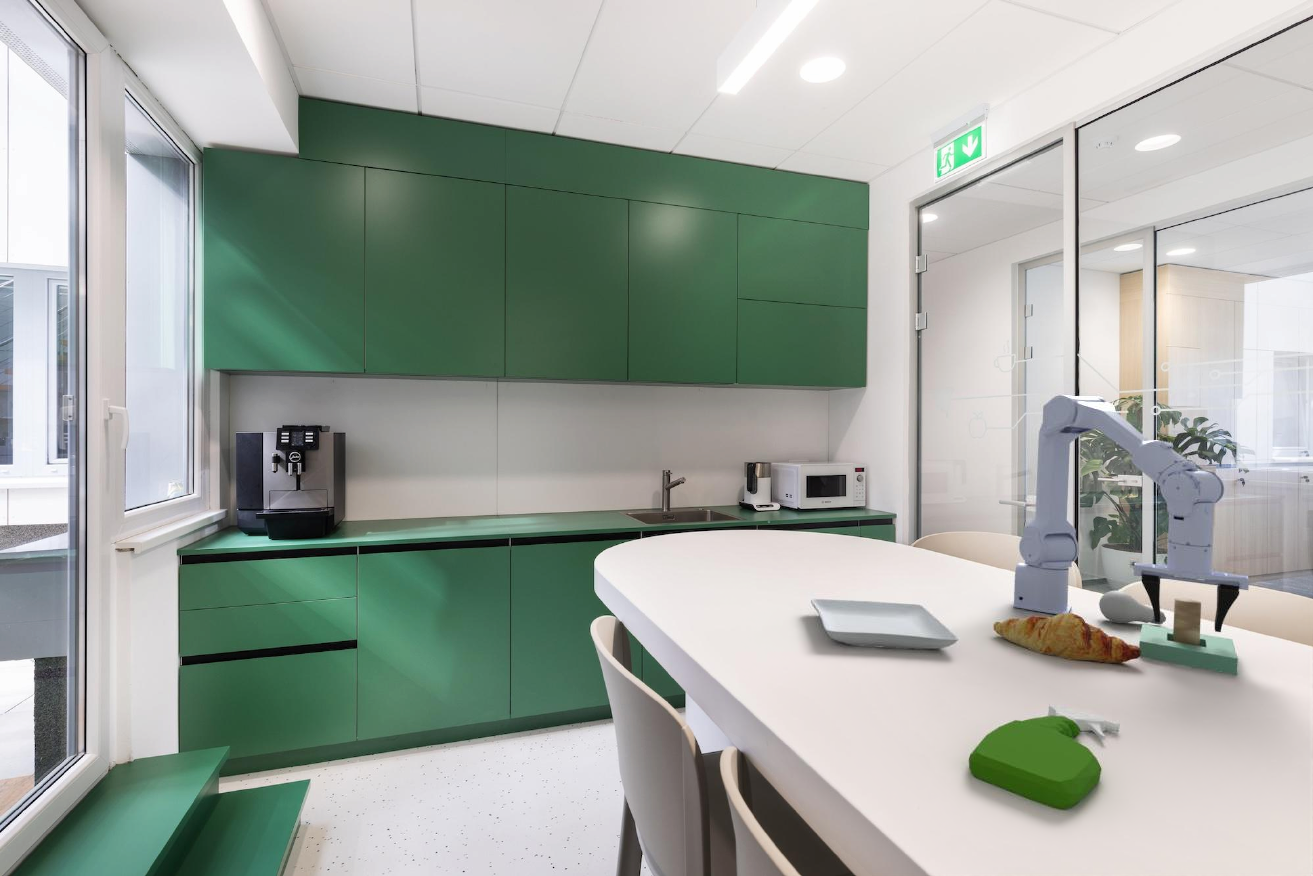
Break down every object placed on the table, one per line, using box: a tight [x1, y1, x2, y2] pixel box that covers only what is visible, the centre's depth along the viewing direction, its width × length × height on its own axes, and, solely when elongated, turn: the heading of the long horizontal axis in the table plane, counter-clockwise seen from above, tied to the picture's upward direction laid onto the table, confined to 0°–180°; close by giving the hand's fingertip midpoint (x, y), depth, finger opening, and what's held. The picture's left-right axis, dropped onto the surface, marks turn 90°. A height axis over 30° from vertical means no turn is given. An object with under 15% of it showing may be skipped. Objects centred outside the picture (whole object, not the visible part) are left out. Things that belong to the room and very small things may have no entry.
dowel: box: [1172, 597, 1202, 646], centre depth 107 cm, size 3×3×9 cm
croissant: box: [992, 612, 1141, 664], centre depth 108 cm, size 21×10×8 cm, turn 49°
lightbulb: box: [1098, 590, 1167, 626], centre depth 125 cm, size 6×6×11 cm
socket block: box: [1138, 623, 1239, 675], centre depth 107 cm, size 12×12×2 cm
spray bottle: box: [968, 704, 1120, 811], centre depth 74 cm, size 3×11×24 cm
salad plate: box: [810, 598, 959, 650], centre depth 116 cm, size 21×21×3 cm
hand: (1186, 625), depth 107 cm, fingers open, 7 cm apart
